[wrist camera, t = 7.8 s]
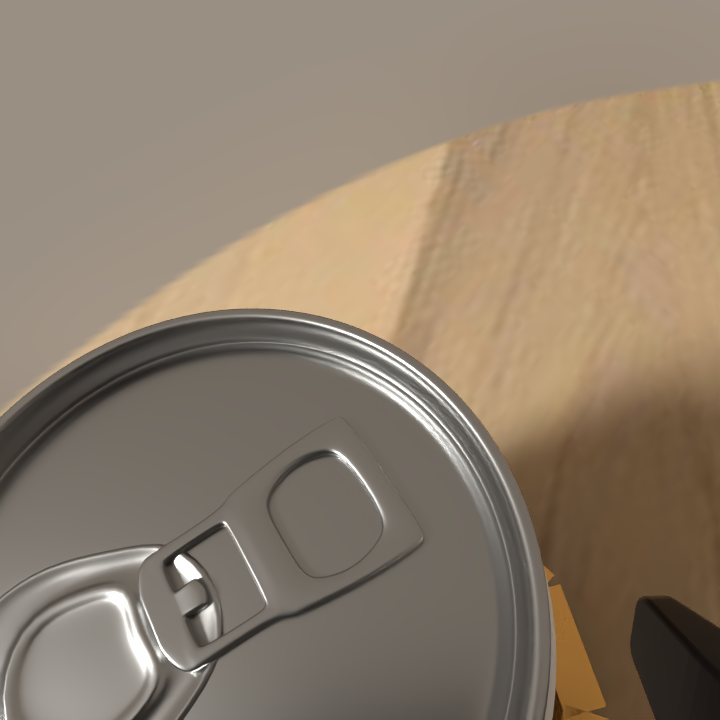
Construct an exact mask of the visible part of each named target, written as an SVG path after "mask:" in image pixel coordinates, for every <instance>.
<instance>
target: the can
mask: <svg viewBox="0 0 720 720" xmlns="http://www.w3.org/2000/svg"><path fill="white" fill-rule="evenodd" d="M555 687H556V638H555V625H554V617H553V609H552V603H551V597H550V591H549V586H548V582H547V577H546V573H545V569H544V565H543V561H542V556H541V552H540V547H539V544H538V540H537V536H536V532H535V529H534V526H533V523H532V519H531V516H530V514H529V511H528V508H527V505H526V503H525V500H524V498H523V495H522V493H521V490H520V488H519V486H518V484H517V482H516V479H515V477H514V475H513V473H512V471H511V469H510V467H509V465H508V464H507V462H506V460H505V458H504V456H503V455H502V453H501V451H500V450H499V448H498V446H497V445H496V443H495V442H494V440H493V438H492V437H491V435H490V434H489V432H488V431H487V430H486V428H485V427H484V426H483V424H482V423H481V421H480V420H479V419H478V418H477V416H476V415H475V414H474V413H473V412H472V410H471V409H470V408H469V407H468V406H467V405H466V403H465V402H464V401H463V400H462V399H461V398H460V397H459V396H458V395H457V394H456V393H455V392H454V391H453V390H452V389H451V388H450V387H449V386H448V385H447V384H446V383H445V382H444V381H443V380H442V379H440V378H439V377H438V376H437V375H436V374H435V373H433V372H432V371H431V370H430V369H428V368H427V367H426V366H424V365H423V364H422V363H420V362H419V361H418V360H416V359H415V358H413V357H412V356H410V355H409V354H407V353H406V352H404V351H403V350H401V349H399V348H398V347H396V346H394V345H392V344H391V343H389V342H387V341H385V340H383V339H381V338H379V337H377V336H375V335H373V334H371V333H368V332H366V331H364V330H361V329H359V328H356V327H354V326H351V325H348V324H345V323H342V322H339V321H336V320H332V319H329V318H325V317H321V316H316V315H312V314H307V313H301V312H295V311H286V310H276V309H229V310H219V311H211V312H204V313H198V314H192V315H188V316H183V317H179V318H175V319H171V320H167V321H164V322H160V323H157V324H154V325H151V326H148V327H145V328H142V329H139V330H136V331H134V332H131V333H129V334H126V335H124V336H121V337H119V338H117V339H115V340H113V341H110V342H108V343H106V344H104V345H102V346H100V347H98V348H96V349H94V350H92V351H90V352H89V353H87V354H85V355H83V356H81V357H80V358H78V359H76V360H75V361H73V362H71V363H70V364H68V365H67V366H65V367H63V368H62V369H60V370H59V371H57V372H56V373H54V374H53V375H51V376H50V377H49V378H47V379H46V380H44V381H43V382H42V383H40V384H39V385H38V386H36V387H35V388H34V389H32V390H31V391H30V392H29V393H27V394H26V395H25V396H24V397H22V398H21V399H20V400H19V401H18V402H17V403H15V404H14V405H13V406H12V407H11V408H10V409H9V410H8V411H6V412H5V413H4V414H3V415H2V416H1V417H0V720H552V718H553V710H554V700H555Z"/></svg>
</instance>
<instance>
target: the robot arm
mask: <svg viewBox="0 0 720 720" xmlns="http://www.w3.org/2000/svg"><path fill="white" fill-rule="evenodd" d="M630 645H631V653H632V657H633V661H634V663H635V666H636V669H637V671H638V674H639V676H640V679H641V682H642V684H643V687H644V690H645V692H646V695H647V698H648V700H649V703H650V705H651V708H652V711H653V713H654V716H655V719H656V720H720V628H719V627H717V626H716V625H714V624H713V623H711V622H709V621H708V620H706V619H705V618H703V617H702V616H700V615H699V614H697V613H695V612H694V611H692V610H691V609H689V608H688V607H686V606H684V605H683V604H681V603H680V602H678V601H677V600H675V599H673V598H671V597H669V596H643V597H641V598H639V600H638V601H637V605H636V610H635V616H634V622H633V628H632V634H631V642H630Z"/></svg>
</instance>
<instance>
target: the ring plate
mask: <svg viewBox="0 0 720 720" xmlns="http://www.w3.org/2000/svg"><path fill="white" fill-rule="evenodd" d="M544 569H545V573H546V577H547V582H549V581H550V580H551V579H552V577H553V576H554V574H553V573H552V572H551V571H550V570H548V569H547V568H546V567H545V566H544ZM549 591H550V597H551V603H552V609H553V617H554V625H555V638H556V687H555V700H554V710H553V718H552V720H609V719H608V718H605V717H602V716H599V715H596V714H593V713H592V711H593V710H596V709H599V708H603V707H606V703H605V701H604V698H603V695H602V693H601V690H600V687H599V685H598V682H597V679H596V677H595V674H594V672H593V669H592V666H591V664H590V661H589V658H588V656H587V653H586V650H585V648H584V645H583V643H582V640H581V637H580V635H579V632H578V629H577V627H576V624H575V622H574V619H573V616H572V614H571V611H570V608H569V606H568V603H567V600H566V598H565V595H564V593H563V590H562V587H561V585H560V584H558V585H555V586H551V587H549Z"/></svg>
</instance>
